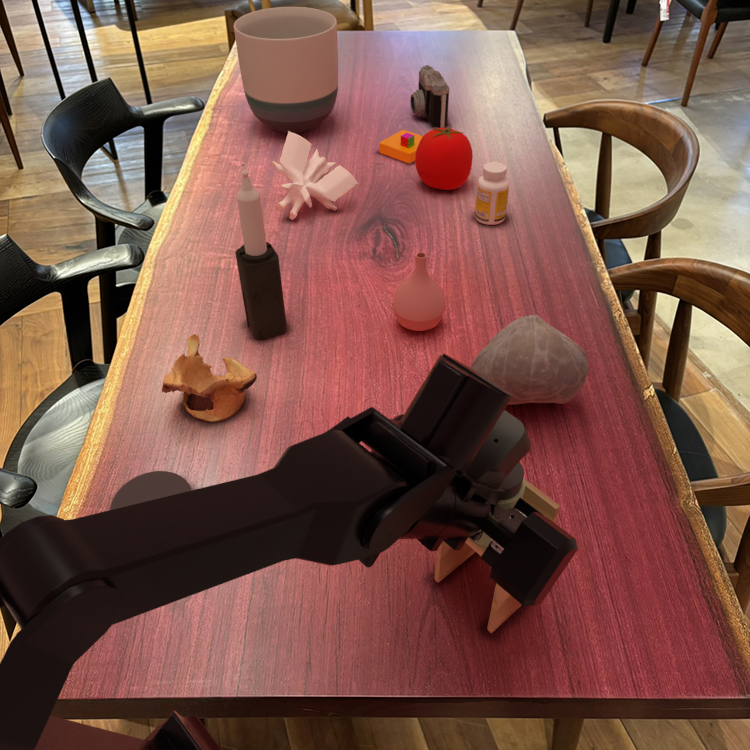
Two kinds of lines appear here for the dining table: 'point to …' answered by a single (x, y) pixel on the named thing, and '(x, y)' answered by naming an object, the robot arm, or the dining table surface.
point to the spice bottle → (508, 495)
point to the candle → (258, 268)
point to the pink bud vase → (419, 299)
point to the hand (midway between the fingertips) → (501, 506)
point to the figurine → (310, 176)
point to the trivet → (149, 488)
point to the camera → (431, 97)
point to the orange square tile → (401, 146)
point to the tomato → (444, 158)
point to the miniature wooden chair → (453, 558)
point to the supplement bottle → (492, 194)
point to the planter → (289, 66)
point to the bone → (209, 383)
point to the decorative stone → (534, 362)
